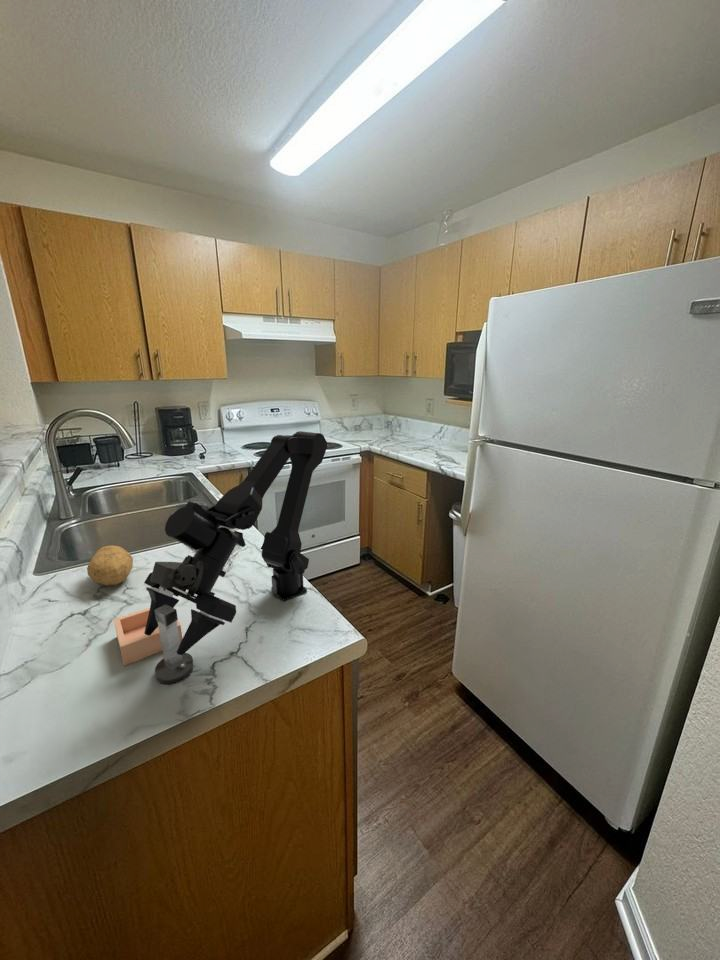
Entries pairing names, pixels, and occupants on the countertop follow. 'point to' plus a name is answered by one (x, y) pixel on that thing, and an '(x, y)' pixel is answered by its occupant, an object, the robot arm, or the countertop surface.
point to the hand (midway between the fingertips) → (162, 644)
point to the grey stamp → (171, 649)
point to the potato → (110, 565)
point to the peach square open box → (137, 637)
